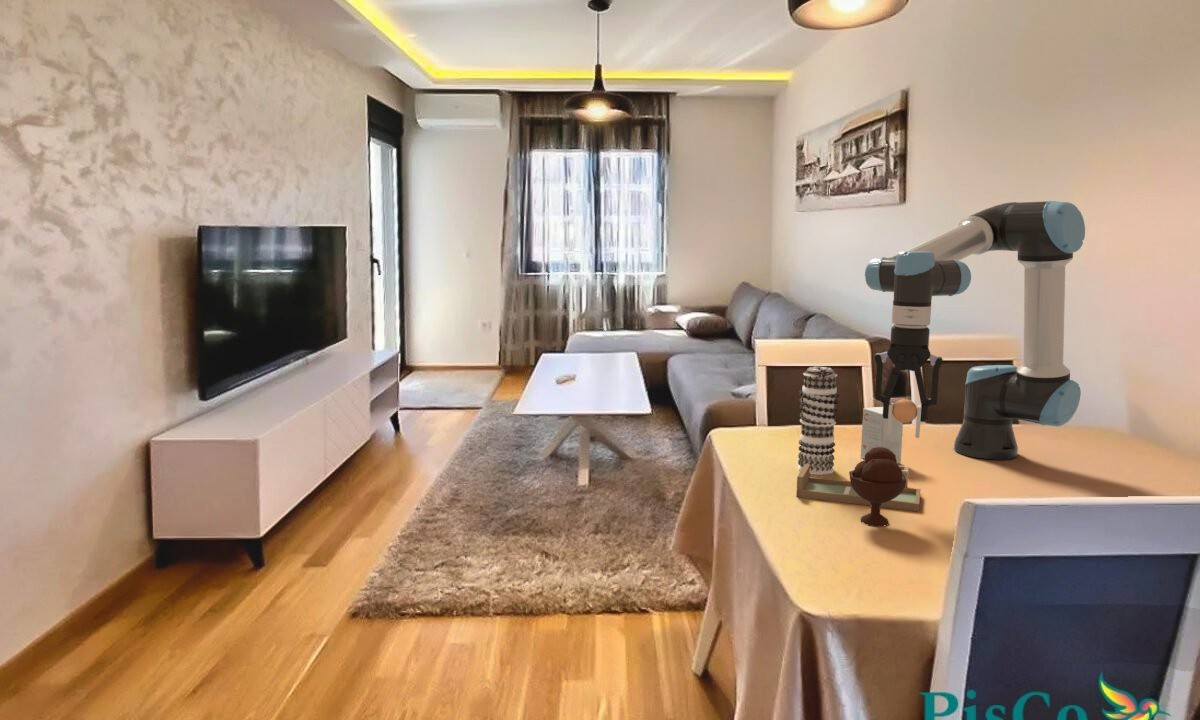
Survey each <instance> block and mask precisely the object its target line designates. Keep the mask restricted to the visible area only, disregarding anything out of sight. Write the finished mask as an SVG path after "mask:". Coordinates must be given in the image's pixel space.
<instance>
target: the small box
mask: <svg viewBox="0 0 1200 720" xmlns="http://www.w3.org/2000/svg"><path fill="white" fill-rule="evenodd" d="M862 409H863V410H862V424H861V426H862V427H861V440H860V441H861V445H860V446H861V447H860V458H861V459H864V460H865V454H866V453H867V452H869V451H870V450H871V449H872V448H876V447H885V448H887V449H889V450H891V451H892V452H893V453H894V454H895V456H896V460H897V462H896V463H897V464H901V462H902V447H903V446H902V445H903V430H904V429H903V428H904V423H902V422H899V421H898V420H896V419H895V417H894V416H893V417H892V433H891V435H887V428H888V419H885V418H883V406H875V407H873V406H872V407H863V408H862Z"/></svg>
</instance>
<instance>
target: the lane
mask: <svg viewBox="0 0 1200 720" xmlns="http://www.w3.org/2000/svg"><path fill="white" fill-rule="evenodd" d="M796 479H797V480H796V494H795V495H796V497H798V498H799V497H800V498H806V499H814V500H823V501H831V502H839V503H846V504H853V505H854V504H855V505H856V504H857V505H862V506H863V505H865V506H870V507H871V503H870V502H869V501H867V500H865V499H863V498H862V497H860V496H859V495H858V494H857V493H856V492H855V491H854V490H853V487H852V485H851V481H850V480H839V479H832V478H823V477H815V476H810V464H804V466H803V468H802V469H801V471H799V473H798V474H797V478H796ZM920 498H921V489H920V488H914V487H913V488H912V487H911V488H910V487H907V488H904V490H903V491H902V493H901V494H900V495H898V496H897V497H896V498H894V499H892V500H890V501H888V502H885V503H882V504H881V506H880V508H881V507H882V508H887V509H889V508H890V509H896V510H904V511H911V512H912V511H913V512H920V500H921V499H920Z"/></svg>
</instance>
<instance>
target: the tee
mask: <svg viewBox="0 0 1200 720" xmlns="http://www.w3.org/2000/svg"><path fill="white" fill-rule="evenodd" d="M898 466H899V468H901V470H902V475H904V476H905V478H906V480H907V482H906V485H905V488H908V487H909V486H908V485H909V468H910V467H909V465H908V466H907V465H900V464H898ZM907 486H908V487H907Z"/></svg>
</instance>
